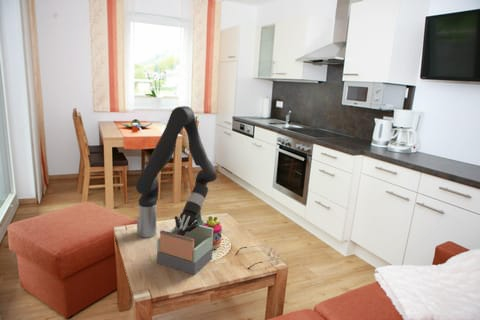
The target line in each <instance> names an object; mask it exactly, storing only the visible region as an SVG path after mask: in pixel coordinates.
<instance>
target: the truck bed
mask: <svg viewBox="0 0 480 320" xmlns="http://www.w3.org/2000/svg"><path fill="white" fill-rule="evenodd" d="M180 225H181V219H180ZM191 225H192V224H191ZM175 227H176V228H173V229H171V230H169V232H171V233H174V234H178V231H179V229H178V228H177V226H176V225H175ZM184 236H185V237H189V238H193V239H194V249H193V261H190V260H186V259H183V258H180V257H176V256H173V255H170V254H166V253H163V252H160V237H159V238H157V241H156V242H157V244H156V245H157V249H156V250H157V251H156V260H157V261H156V264H159V265H162V266H164V267H168V268H171V269H173V270H174V269H175V270H177V271H180V272H183V273H186V274H190V275H193V276H195V275H197V274H198V272H200V271H201V270H202V269H203V268H204V267H205V266H206V265H207V264H208V263H210V261H211V260H213V250H212V246H213V228H210V227H206V226H202V225H199V226H198V227H196V228H195V229H193V230H192V231H190V232H189V231H188V232H186V233H185V235H184Z"/></svg>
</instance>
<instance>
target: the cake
mask: <svg viewBox="0 0 480 320" xmlns="http://www.w3.org/2000/svg"><path fill="white" fill-rule="evenodd" d="M204 223H205V224H203V225H202V226H206V227H210V228H213V246H212V251H214V250H213V249H216V250H218V249H217V248H219V247H220V248H221V242H222V240H223V239H222V233H223V230H222V229H223V227H222V224H221V222H220V221H218V217H217V216H214V217H213V216H211V215H210V216H208V218H207V220H206V222H204ZM220 248H219V249H220Z"/></svg>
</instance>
